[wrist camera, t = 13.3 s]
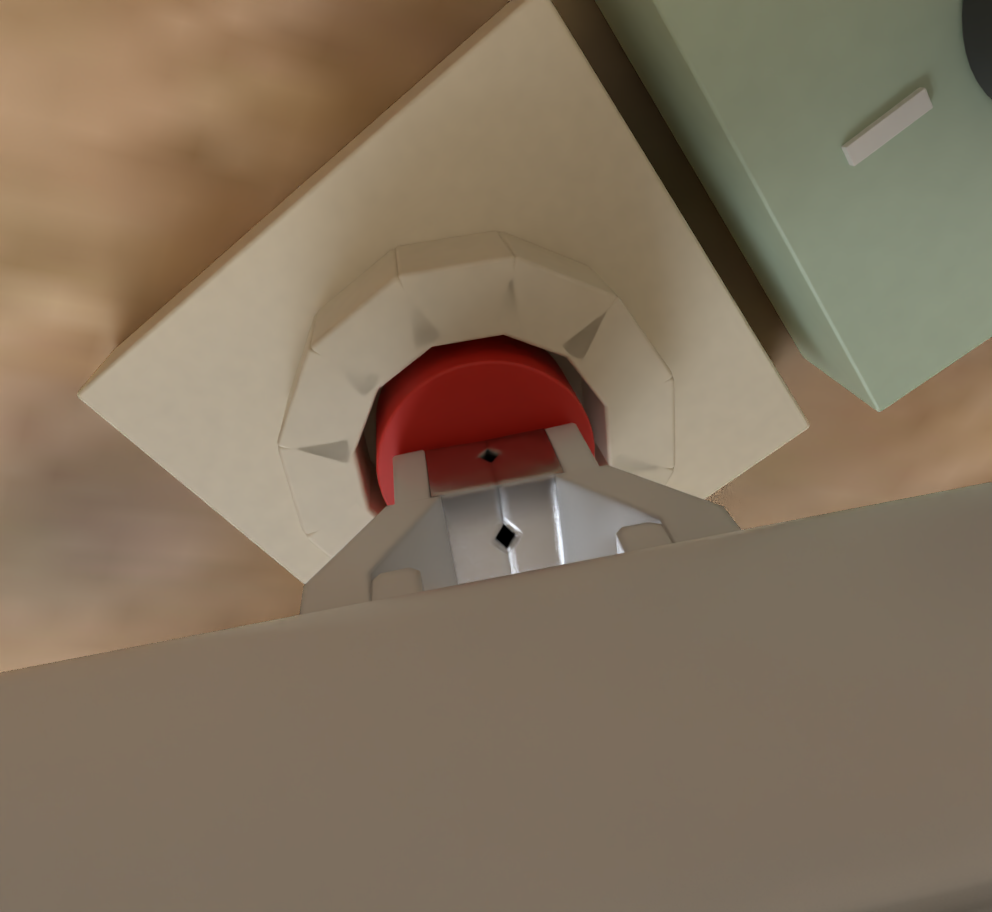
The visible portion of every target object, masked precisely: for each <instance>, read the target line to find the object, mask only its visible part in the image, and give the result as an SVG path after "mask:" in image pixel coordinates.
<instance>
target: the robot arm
mask: <svg viewBox="0 0 992 912" xmlns="http://www.w3.org/2000/svg"><path fill="white" fill-rule="evenodd" d="M425 454H426V455H425ZM393 478H394V499H395V504H394V505H388V506H386V507H385V508H384V509H383V510H382V511H381V512H380V513H379V514H378V515H377V516H376V517H375V518H374V519H372V520H371V521H370V522H369V523H368V524H367V525H366V526H365V527H364V528H363V529H362V530H361V531H360V532H359V533H358V534H357V535H356V536H355V537H354V538H353V539H352V540H351V541H350V542H349V543H347V544H346V545H345V546H344V547H343V548H342V549H341V550H340V551H339V552H338V553H337V554H336V555H335V556H334V557H333V558H332V559H331V560H330V561H329V562H328V563H327V564H326V565H325V566H324V567H323V568H321V569H320V570H319V571H318V572H317V573H316V574H315V575H314V576H313V577H312V578H311V579H310V580H309V581H308V582H307V583H306V584H305V585H304V586H303V593H302V600H301V608H300V615H297V616H291V617H286V618H281V619H276V620H270V621H265V622H260V623H255V624H250V625H244V626H239V627H234V628H229V629H224V630H218V631H213V632H208V633H203V634H198V635H193V636H187V637H182V638H177V639H172V640H167V641H161V642H156V643H151V644H146V645H141V646H136V647H130V648H125V649H120V650H115V651H110V652H105V653H99V654H94V655H89V656H84V657H79V658H74V659H68V660H63V661H58V662H53V663H48V664H42V665H37V666H32V667H27V668H22V669H17V670H11V671H6V672H1V673H0V912H992V482H988V483H983V484H978V485H972V486H967V487H962V488H957V489H952V490H946V491H941V492H936V493H931V494H926V495H921V496H915V497H910V498H905V499H900V500H895V501H889V502H884V503H879V504H874V505H869V506H864V507H858V508H853V509H848V510H843V511H838V512H832V513H827V514H822V515H817V516H812V517H807V518H801V519H796V520H791V521H786V522H781V523H775V524H770V525H765V526H760V527H755V528H750V529H744V530H741V529H740V528H739V526H738V525H737V524H736V522H735V521H734V520H733V519H732V517H731V516H730V515H729V513H728V512H727V511H726V509H725V508H724V507H723V506H720V505H718V504H715V503H712V502H709V501H707V500H704V499H701V498H698V497H695V496H693V495H690V494H687V493H684V492H681V491H679V490H676V489H673V488H670V487H668V486H665V485H662V484H659V483H656V482H654V481H651V480H648V479H645V478H642V477H640V476H637V475H634V474H631V473H629V472H626V471H623V470H620V469H617V468H615V467H612V466H609V465H604V466H599V465H598V463H597V461H596V460H595V458H594V456H593V454H592V452H591V451H590V449H589V447H588V445H587V443H586V441H585V440H584V438H583V436H582V434H581V432H580V431H579V429H578V427H577V425H576V424H575V423H568V424H564V425H560V426H555V427H551V428H547V429H544V428H542V429H537V430H533V431H528V432H523V433H518V434H513V435H508V436H503V437H498V438H494V439H489V440H484V441H478V442H472V443H466V444H460V445H454V446H448V447H442V448H435V449H429V450H425V452H424V450H419V451H414V452H410V453H405V454H400V455H396V456H394V457H393Z"/></svg>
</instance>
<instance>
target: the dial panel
mask: <svg viewBox="0 0 992 912" xmlns="http://www.w3.org/2000/svg"><path fill="white" fill-rule="evenodd" d="M595 2H596V4H597V5H598V7H599V9H600V10H601V12H602V14H603V16H604V17H605V19H606V21H607V22H608V24H609V26H610V28H611V29H612V31H613V33H614V34H615V36H616V38H617V40H618V41H619V43H620V45H621V46H622V48H623V50H624V52H625V53H626V55H627V57H628V58H629V60H630V62H631V64H632V65H633V67H634V69H635V70H636V72H637V74H638V76H639V77H640V79H641V81H642V82H643V84H644V86H645V88H646V89H647V91H648V93H649V94H650V96H651V98H652V99H653V101H654V103H655V105H656V106H657V108H658V110H659V111H660V113H661V115H662V117H663V118H664V120H665V122H666V123H667V125H668V127H669V129H670V130H671V132H672V134H673V135H674V137H675V139H676V141H677V142H678V144H679V146H680V147H681V149H682V151H683V153H684V154H685V156H686V158H687V159H688V161H689V163H690V165H691V166H692V168H693V170H694V171H695V173H696V175H697V177H698V178H699V180H700V182H701V183H702V185H703V187H704V189H705V190H706V192H707V194H708V195H709V197H710V199H711V201H712V202H713V204H714V206H715V207H716V209H717V211H718V213H719V214H720V216H721V218H722V219H723V221H724V223H725V224H726V226H727V228H728V230H729V231H730V233H731V235H732V236H733V238H734V240H735V242H736V243H737V245H738V247H739V248H740V250H741V252H742V254H743V255H744V257H745V259H746V260H747V262H748V264H749V266H750V267H751V269H752V271H753V272H754V274H755V276H756V278H757V279H758V281H759V283H760V284H761V286H762V288H763V290H764V291H765V293H766V295H767V296H768V298H769V300H770V302H771V303H772V305H773V307H774V308H775V310H776V312H777V314H778V315H779V317H780V319H781V320H782V322H783V324H784V326H785V327H786V329H787V331H788V332H789V334H790V336H791V338H792V339H793V341H794V343H795V344H796V346H797V348H798V349H799V351H800V353H801V355H802V356H803V357H804V358H805V359H806V360H808V361H809V362H810V363H812V364H813V365H815V366H816V367H817V368H819V369H820V370H821V371H823V372H824V373H825V374H827V375H828V376H830V377H831V378H832V379H834V380H835V381H836V382H838V383H839V384H841V385H842V386H843V387H845V388H846V389H847V390H849V391H850V392H852V393H853V394H854V395H856V396H857V397H858V398H860V399H861V400H862V401H864V402H865V403H867V404H868V405H869V406H871V407H872V408H873V409H875V410H876V411H878V412H880V411H882V410H884V409H885V408H887V407H888V406H890V405H891V404H893V403H894V402H896V401H897V400H899V399H900V398H902V397H903V396H905V395H906V394H908V393H909V392H911V391H912V390H914V389H915V388H917V387H918V386H919V385H921V384H922V383H924V382H925V381H927V380H928V379H930V378H931V377H933V376H934V375H936V374H937V373H939V372H940V371H942V370H943V369H945V368H946V367H948V366H949V365H951V364H952V363H954V362H955V361H956V360H958V359H959V358H961V357H962V356H964V355H965V354H967V353H968V352H970V351H971V350H973V349H974V348H976V347H977V346H979V345H980V344H982V343H983V342H985V341H986V340H988V339H989V338H991V337H992V99H991V98H990V97H988V96H987V94H986V93H985V92H984V91H983V89H982V88H981V86H980V85H979V84H978V82H977V80H976V78H975V76H974V74H973V72H972V70H971V68H970V65H969V62H968V59H967V56H966V52H965V47H964V41H963V35H962V6H963V0H595Z"/></svg>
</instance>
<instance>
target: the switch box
mask: <svg viewBox="0 0 992 912" xmlns="http://www.w3.org/2000/svg"><path fill="white" fill-rule="evenodd" d="M499 335H505V336H508V337H511V338H514V339H517V340H519V341H522V342H525V343H528V344H530V345H533V346H536V347H539V348H542V349H544V350H546V351H547V352H548V353H549V354H550V355H551V356H552V357H553V359H554V360H555V361H556V362H557V364H558V365H559V367H560V368H561V370H562V371H563V373H564V375H565V377H566V378H567V380H568V382H569V383H570V385H571V387H572V389H573V390H574V392H575V394H576V396H577V397H578V399H579V401H580V403H581V404H582V406H583V408H584V410H585V412H586V414H587V416H588V418H589V421H590V424H591V427H592V431H593V436H594V443H595V460H596V461H597V463H598V465H599V466H604V465H609V466H612V467H615V468H617V469H620V470H623V471H626V472H629V473H631V474H634V475H637V476H640V477H642V478H645V479H648V480H651V481H654V482H656V483H659V484H662V485H665V486H668V487H670V488H673V489H676V490H679V491H681V492H684V493H687V494H690V495H693V496H695V497H698V498H701V499H706V498H707V497H709V496H710V495H712V494H713V493H714V492H716V491H717V490H719V489H720V488H722V487H723V486H725V485H726V484H728V483H729V482H731V481H732V480H733V479H735V478H736V477H738V476H739V475H741V474H742V473H744V472H745V471H747V470H748V469H749V468H751V467H752V466H754V465H755V464H757V463H758V462H760V461H761V460H763V459H764V458H766V457H767V456H768V455H770V454H771V453H773V452H774V451H776V450H777V449H779V448H780V447H782V446H783V445H785V444H786V443H787V442H789V441H790V440H792V439H793V438H795V437H796V436H798V435H799V434H801V433H802V432H804V431H805V430H806V429H808V428H809V427H810V425H809V422H808V420H807V418H806V417H805V415H804V414H803V412H802V410H801V409H800V407H799V405H798V404H797V402H796V400H795V399H794V397H793V396H792V394H791V392H790V391H789V389H788V387H787V386H786V384H785V383H784V381H783V379H782V378H781V376H780V374H779V373H778V371H777V369H776V368H775V366H774V365H773V363H772V361H771V360H770V358H769V356H768V355H767V353H766V351H765V350H764V348H763V347H762V345H761V343H760V342H759V340H758V338H757V337H756V335H755V333H754V332H753V330H752V329H751V327H750V325H749V324H748V322H747V320H746V319H745V317H744V315H743V314H742V312H741V311H740V309H739V307H738V306H737V304H736V302H735V301H734V299H733V297H732V296H731V294H730V293H729V291H728V289H727V288H726V286H725V284H724V283H723V281H722V279H721V278H720V276H719V275H718V273H717V271H716V270H715V268H714V266H713V265H712V263H711V261H710V260H709V258H708V257H707V255H706V253H705V252H704V250H703V248H702V247H701V245H700V243H699V242H698V240H697V239H696V237H695V235H694V234H693V232H692V230H691V229H690V227H689V226H688V224H687V222H686V221H685V219H684V217H683V216H682V214H681V212H680V211H679V209H678V208H677V206H676V204H675V203H674V201H673V199H672V198H671V196H670V194H669V193H668V191H667V190H666V188H665V186H664V185H663V183H662V181H661V180H660V178H659V176H658V175H657V173H656V172H655V170H654V168H653V167H652V165H651V163H650V162H649V160H648V158H647V157H646V155H645V154H644V152H643V150H642V149H641V147H640V145H639V144H638V142H637V140H636V139H635V137H634V136H633V134H632V132H631V131H630V129H629V127H628V126H627V124H626V122H625V121H624V119H623V118H622V116H621V114H620V113H619V111H618V109H617V108H616V106H615V104H614V103H613V101H612V100H611V98H610V96H609V95H608V93H607V91H606V90H605V88H604V86H603V85H602V83H601V82H600V80H599V78H598V77H597V75H596V73H595V72H594V70H593V69H592V67H591V65H590V64H589V62H588V60H587V59H586V57H585V55H584V54H583V52H582V51H581V49H580V47H579V46H578V44H577V42H576V41H575V39H574V37H573V36H572V34H571V33H570V31H569V29H568V28H567V26H566V24H565V23H564V21H563V19H562V18H561V16H560V15H559V13H558V11H557V10H556V8H555V6H554V5H553V3H552V1H551V0H511V1H510V2H509V3H507V4H506V5H505V6H504V7H503V8H502V9H501V10H499V11H498V12H497V13H496V14H495V15H494V16H493V17H492V18H490V19H489V20H488V21H487V22H486V23H485V24H484V25H482V26H481V27H480V28H479V29H478V30H477V31H476V32H474V33H473V34H472V35H471V36H470V37H469V38H468V39H467V40H465V41H464V42H463V43H462V44H461V45H460V46H459V47H457V48H456V49H455V50H454V51H453V52H452V53H451V54H449V55H448V56H447V57H446V58H445V59H444V60H443V61H442V62H440V63H439V64H438V65H437V66H436V67H435V68H434V69H432V70H431V71H430V72H429V73H428V74H427V75H426V76H424V77H423V78H422V79H421V80H420V81H419V82H418V83H416V84H415V85H414V86H413V87H412V88H411V89H410V90H409V91H407V92H406V93H405V94H404V95H403V96H402V97H401V98H399V99H398V100H397V101H396V102H395V103H394V104H393V105H391V106H390V107H389V108H388V109H387V110H386V111H385V112H384V113H382V114H381V115H380V116H379V117H378V118H377V119H376V120H374V121H373V122H372V123H371V124H370V125H369V126H368V127H366V128H365V129H364V130H363V131H362V132H361V133H360V134H359V135H357V136H356V137H355V138H354V139H353V140H352V141H351V142H349V143H348V144H347V145H346V146H345V147H344V148H343V149H341V150H340V151H339V152H338V153H337V154H336V155H335V156H334V157H332V158H331V159H330V160H329V161H328V162H327V163H326V164H324V165H323V166H322V167H321V168H320V169H319V170H318V171H316V172H315V173H314V174H313V175H312V176H311V177H310V178H309V179H307V180H306V181H305V182H304V183H303V184H302V185H301V186H299V187H298V188H297V189H296V190H295V191H294V192H293V193H291V194H290V195H289V196H288V197H287V198H286V199H285V200H283V201H282V202H281V203H280V204H279V205H278V206H277V207H276V208H274V209H273V210H272V211H271V212H270V213H269V214H268V215H266V216H265V217H264V218H263V219H262V220H261V221H260V222H258V223H257V224H256V225H255V226H254V227H253V228H252V229H251V230H249V231H248V232H247V233H246V234H245V235H244V236H243V237H241V238H240V239H239V240H238V241H237V242H236V243H235V244H233V245H232V246H231V247H230V248H229V249H228V250H227V251H226V252H224V253H223V254H222V255H221V256H220V257H219V258H218V259H216V260H215V261H214V262H213V263H212V264H211V265H210V266H208V267H207V268H206V269H205V270H204V271H203V272H202V273H201V274H199V275H198V276H197V277H196V278H195V279H194V280H193V281H191V282H190V283H189V284H188V285H187V286H186V287H185V288H183V289H182V290H181V291H180V292H179V293H178V294H177V295H176V296H174V297H173V298H172V299H171V300H170V301H169V302H168V303H166V304H165V305H164V306H163V307H162V308H161V309H160V310H158V311H157V312H156V313H155V314H154V315H153V316H152V317H150V318H149V319H148V320H147V321H146V322H145V323H144V324H143V325H141V326H140V327H139V328H138V329H137V330H136V331H135V332H133V333H132V334H131V335H130V336H129V337H128V338H127V339H125V340H124V341H123V342H122V343H121V344H120V345H119V346H118V347H116V348H115V349H114V350H113V351H112V352H111V354H110V355H109V356H108V357H107V358H106V359H105V361H104V362H103V363H102V364H101V365H100V366H99V368H98V369H97V370H96V371H95V372H94V374H93V375H92V376H91V377H90V378H89V379H88V381H87V382H86V383H85V384H84V385H83V386H82V388H81V389H80V390H79V391H78V394H77V396H78V397H79V399H81V400H82V401H83V402H84V403H85V404H87V405H88V406H89V407H90V408H92V409H93V410H94V411H95V412H96V413H98V414H99V415H100V416H101V417H102V418H104V419H105V420H106V421H107V422H108V423H110V424H111V425H112V426H113V427H114V428H116V429H117V430H118V431H119V432H121V433H122V434H123V435H124V436H125V437H127V438H128V439H129V440H130V441H131V442H133V443H134V444H135V445H136V446H137V447H139V448H140V449H141V450H142V451H144V452H145V453H146V454H147V455H148V456H150V457H151V458H152V459H153V460H154V461H156V462H157V463H158V464H159V465H160V466H162V467H163V468H164V469H165V470H166V471H168V472H169V473H170V474H171V475H173V476H174V477H175V478H176V479H177V480H179V481H180V482H181V483H182V484H183V485H185V486H186V487H187V488H188V489H189V490H191V491H192V492H193V493H194V494H195V495H197V496H198V497H199V498H200V499H202V500H203V501H204V502H205V503H206V504H208V505H209V506H210V507H211V508H212V509H214V510H215V511H216V512H217V513H218V514H220V515H221V516H222V517H223V518H225V519H226V520H227V521H228V522H229V523H231V524H232V525H233V526H234V527H235V528H237V529H238V530H239V531H240V532H241V533H243V534H244V535H245V536H246V537H247V538H249V539H250V540H251V541H252V542H254V543H255V544H256V545H257V546H258V547H260V548H261V549H262V550H263V551H264V552H266V553H267V554H268V555H269V556H270V557H272V558H273V559H274V560H275V561H277V562H278V563H279V564H280V565H281V566H283V567H284V568H285V569H286V570H287V571H289V572H290V573H291V574H292V575H293V576H295V577H296V578H297V579H298V580H299V581H301V582H302V583H303V584H304V585H305V584H306V583H307V582H308V581H309V580H310V579H311V578H312V577H313V576H314V575H315V574H316V573H317V572H318V571H319V570H320V569H321V568H323V567H324V566H325V565H326V564H327V563H328V562H329V561H330V560H331V559H332V558H333V557H334V556H335V555H336V554H337V553H338V552H339V551H340V550H341V549H342V548H343V547H344V546H345V545H346V544H347V543H349V542H350V541H351V540H352V539H353V538H354V537H355V536H356V535H357V534H358V533H359V532H360V531H361V530H362V529H363V528H364V527H365V526H366V525H367V524H368V523H369V522H370V521H371V520H372V519H374V518H375V517H376V516H377V515H378V514H379V513H380V512H381V511H382V510H383V509H384V508H385V507H386V506H387V504H386V502H385V500H384V498H383V496H382V493H381V490H380V487H379V484H378V478H377V472H376V411H377V404H378V400H379V396H380V393H381V390H382V388H383V385H384V384H386V383H387V382H388V381H389V380H391V379H392V378H393V377H394V376H396V375H397V374H398V373H400V372H401V371H402V370H403V369H405V368H406V367H407V366H408V365H410V364H411V363H412V362H413V361H415V360H416V359H417V358H418V357H420V356H421V355H422V354H424V353H425V352H426V351H427V350H429V349H430V348H431V347H434V346H440V345H446V344H452V343H457V342H463V341H469V340H475V339H481V338H487V337H493V336H499Z"/></svg>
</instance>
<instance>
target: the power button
mask: <svg viewBox="0 0 992 912" xmlns="http://www.w3.org/2000/svg"><path fill="white" fill-rule="evenodd" d="M568 423H575V424H576V425H577V427H578V429H579V431H580V432H581V434H582V436H583V438H584V440H585V441H586V443H587V445H588V447H589V449H590V451H591V452H592V454H593V456H594V458H595V443H594V436H593V431H592V427H591V424H590V421H589V418H588V416H587V414H586V412H585V410H584V408H583V406H582V404H581V403H580V401H579V399H578V397H577V396H576V394H575V392H574V390H573V389H572V387H571V385H570V383H569V382H568V380H567V378H566V377H565V375H564V373H563V371H562V370H561V368H560V367H559V365H558V364H557V362H556V361H555V360H554V359H553V357H552V356H551V355H550V354H549V353H548V352H547V351H546V350H544V349H542V348H539V347H536V346H533V345H530V344H528V343H525V342H522V341H519V340H517V339H514V338H511V337H508V336H505V335H499V336H493V337H487V338H481V339H475V340H469V341H463V342H457V343H452V344H446V345H440V346H434V347H431V348H430V349H429V350H427V351H426V352H425V353H424V354H422V355H421V356H420V357H418V358H417V359H416V360H415V361H413V362H412V363H411V364H410V365H408V366H407V367H406V368H405V369H403V370H402V371H401V372H400V373H398V374H397V375H396V376H394V377H393V378H392V379H391V380H389V381H388V382H387V383H386V384H384V385H383V388H382V390H381V393H380V396H379V400H378V404H377V411H376V472H377V478H378V484H379V487H380V490H381V493H382V496H383V498H384V500H385V502H386V504H387V506H388V505H394V504H395V499H394V478H393V457H394V456H396V455H400V454H405V453H410V452H414V451H419V450H424V452H425V450H429V449H435V448H442V447H448V446H454V445H460V444H466V443H472V442H478V441H484V440H489V439H494V438H498V437H503V436H508V435H513V434H518V433H523V432H528V431H533V430H537V429H542V428H544V429H547V428H551V427H555V426H560V425H564V424H568ZM425 455H426V454H425Z"/></svg>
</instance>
